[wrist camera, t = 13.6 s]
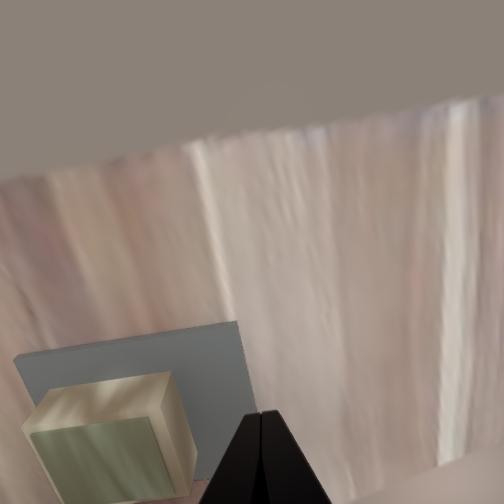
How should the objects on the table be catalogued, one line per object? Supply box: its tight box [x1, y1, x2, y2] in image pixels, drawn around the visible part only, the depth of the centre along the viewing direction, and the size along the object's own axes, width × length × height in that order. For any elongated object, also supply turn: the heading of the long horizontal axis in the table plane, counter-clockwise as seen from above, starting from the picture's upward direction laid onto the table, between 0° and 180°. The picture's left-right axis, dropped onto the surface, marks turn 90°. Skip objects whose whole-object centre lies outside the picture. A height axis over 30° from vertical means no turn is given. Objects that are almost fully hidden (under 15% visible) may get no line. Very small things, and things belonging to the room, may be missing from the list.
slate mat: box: [13, 321, 257, 480], centre depth 24 cm, size 14×12×1 cm
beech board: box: [21, 371, 198, 504], centre depth 22 cm, size 3×7×8 cm
